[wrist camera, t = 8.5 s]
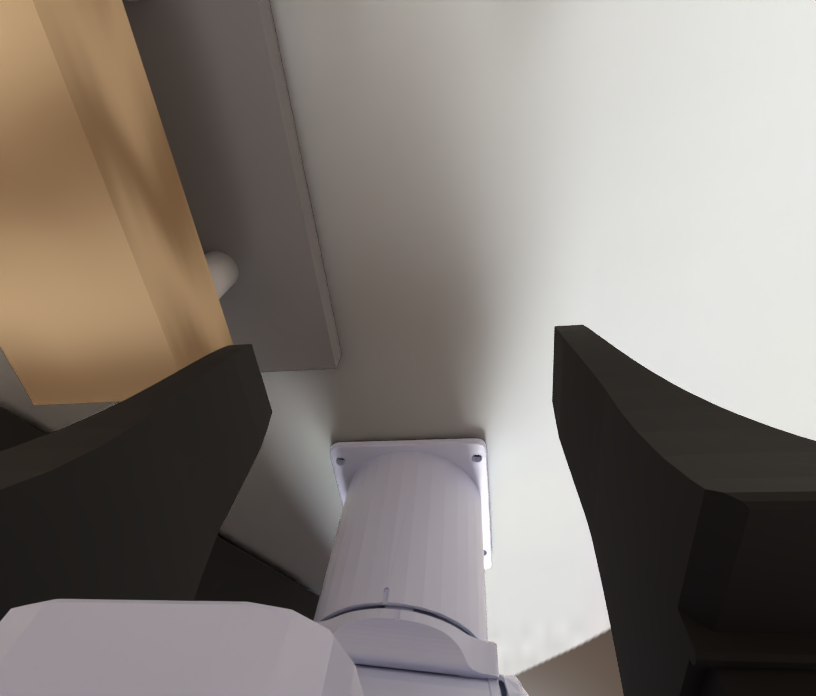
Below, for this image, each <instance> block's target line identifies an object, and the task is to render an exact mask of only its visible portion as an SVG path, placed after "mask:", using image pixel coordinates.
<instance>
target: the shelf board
mask: <svg viewBox="0 0 816 696" xmlns="http://www.w3.org/2000/svg"><path fill="white" fill-rule="evenodd" d="M228 345H233V342H232V339H231V336H230V333H229V329H228V326H227V323H226V320H225V317H224V314H223V311H222V308H221V305H220V302H219V299H218V295H217V292H216V289H215V286H214V283H213V280H212V277H211V274H210V271H209V268H208V265H207V261H206V258H205V255H204V252H203V249H202V246H201V243H200V240H199V237H198V234H197V231H196V227H195V224H194V221H193V218H192V215H191V212H190V209H189V206H188V203H187V200H186V197H185V193H184V190H183V187H182V184H181V181H180V178H179V175H178V172H177V169H176V166H175V163H174V159H173V156H172V153H171V150H170V147H169V144H168V141H167V138H166V135H165V132H164V129H163V125H162V122H161V119H160V116H159V113H158V110H157V107H156V104H155V101H154V98H153V95H152V91H151V88H150V85H149V82H148V79H147V76H146V73H145V70H144V67H143V64H142V60H141V57H140V54H139V51H138V48H137V45H136V42H135V39H134V36H133V33H132V30H131V26H130V23H129V20H128V17H127V14H126V11H125V8H124V5H123V2H122V0H0V347H1V349H2V351H3V353H4V354H5V356H6V358H7V360H8V361H9V363H10V365H11V366H12V368H13V370H14V372H15V373H16V375H17V377H18V378H19V380H20V382H21V384H22V385H23V387H24V389H25V391H26V392H27V394H28V396H29V397H30V399H31V401H32V403H33V404H34V405H55V404H77V403H99V402H121V401H124V400H126V399H128V398H129V397H131V396H133V395H135V394H137V393H139V392H141V391H143V390H145V389H146V388H148V387H150V386H152V385H154V384H156V383H158V382H159V381H161V380H163V379H165V378H167V377H168V376H170V375H172V374H174V373H175V372H177V371H179V370H181V369H182V368H184V367H186V366H188V365H190V364H191V363H193V362H195V361H197V360H199V359H200V358H202V357H204V356H206V355H208V354H210V353H212V352H214V351H216V350H218V349H220V348H223V347H225V346H228Z"/></svg>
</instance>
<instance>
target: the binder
mask: <svg viewBox="0 0 816 696" xmlns="http://www.w3.org/2000/svg"><path fill="white" fill-rule="evenodd" d="M44 435H47V434H45V433H44V432H42V431H40V430H39V429H37V428H35V427H34V426H32V425H30V424H28V423H27V422H25V421H23V420H22V419H20V418H18V417H17V416H15V415H13V414H12V413H10V412H8V411H7V410H5V409H3V408H2V407H0V451H3V450H6V449H9V448H12V447H15V446H17V445H20V444H23V443H26V442H28V441H31V440H34V439H36V438H39V437H42V436H44ZM319 598H320V597H319V596H318V595H316V594H314V593H313V592H311V591H309V590H308V589H306V588H304V587H303V586H301V585H299V584H297V583H296V582H294V581H292V580H291V579H289V578H287V577H286V576H284V575H282V574H281V573H279V572H277V571H276V570H274V569H272V568H271V567H269V566H267V565H266V564H264V563H262V562H260V561H259V560H257V559H255V558H254V557H252V556H250V555H249V554H247V553H245V552H244V551H242V550H240V549H239V548H237V547H235V546H234V545H232V544H230V543H229V542H227V541H225V540H224V539H222V538H220V537H218V536H217V537H216V540H215V542H214V545H213V548H212V550H211V553H210V556H209V558H208V561H207V564H206V566H205V569H204V572H203V574H202V577H201V580H200V583H199V586H198V589H197V592H196V595H195V598H194V601H233V602H252V603H258V604H263V605H269V606H274V607H280V608H285V609H291V610H294V611H296V612H297V613H299V614H301V615H303V616H305V617H307V618H309V619H310V620H312V621H313V620H314V617H315V613H316V609H317V605H318V601H319Z"/></svg>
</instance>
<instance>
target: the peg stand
mask: <svg viewBox="0 0 816 696" xmlns="http://www.w3.org/2000/svg"><path fill="white" fill-rule="evenodd" d="M122 2H123V5H124V8H125V11H126V14H127V17H128V20H129V23H130V26H131V30H132V33H133V36H134V39H135V42H136V45H137V48H138V51H139V54H140V57H141V60H142V64H143V67H144V70H145V73H146V76H147V79H148V82H149V85H150V88H151V91H152V95H153V98H154V101H155V104H156V107H157V110H158V113H159V116H160V119H161V122H162V125H163V129H164V132H165V135H166V138H167V141H168V144H169V147H170V150H171V153H172V156H173V159H174V163H175V166H176V169H177V172H178V175H179V178H180V181H181V184H182V187H183V190H184V193H185V197H186V200H187V203H188V206H189V209H190V212H191V215H192V218H193V221H194V224H195V227H196V231H197V234H198V237H199V240H200V243H201V246H202V249H203V252H204V255H205V258H206V261H207V265H208V268H209V271H210V274H211V277H212V280H213V283H214V286H215V289H216V292H217V295H218V299H219V302H220V305H221V308H222V311H223V314H224V317H225V320H226V323H227V326H228V329H229V333H230V336H231V339H232V342H233V345H242V344H252V346H253V350H254V353H255V356H256V360H257V363H258V366H259V370H260V372H277V371H297V370H317V369H336V368H337V365H338V363H339V360H340V358H341V350H340V345H339V340H338V335H337V330H336V325H335V320H334V315H333V311H332V306H331V301H330V296H329V291H328V286H327V281H326V276H325V271H324V266H323V262H322V257H321V252H320V247H319V242H318V237H317V232H316V227H315V222H314V217H313V213H312V208H311V203H310V198H309V193H308V188H307V183H306V178H305V173H304V168H303V164H302V159H301V154H300V149H299V144H298V139H297V134H296V129H295V124H294V119H293V115H292V110H291V105H290V100H289V95H288V90H287V85H286V80H285V75H284V70H283V66H282V61H281V56H280V51H279V46H278V41H277V36H276V31H275V26H274V21H273V17H272V12H271V7H270V2H269V0H122Z"/></svg>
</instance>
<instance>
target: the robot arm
mask: <svg viewBox="0 0 816 696" xmlns="http://www.w3.org/2000/svg"><path fill="white" fill-rule="evenodd" d="M552 402H553V408H554V413H555V419H556V424H557V429H558V434H559V439H560V442H561V445H562V448H563V451H564V454H565V457H566V460H567V463H568V466H569V469H570V472H571V475H572V478H573V481H574V484H575V486H576V489H577V492H578V495H579V498H580V501H581V504H582V507H583V510H584V513H585V516H586V519H587V522H588V526H589V529H590V533H591V536H592V541H593V545H594V550H595V554H596V559H597V563H598V568H599V572H600V577H601V581H602V586H603V591H604V596H605V601H606V606H607V611H608V615H609V620H610V625H611V630H612V635H613V640H614V646H615V651H616V656H617V661H618V666H619V672H620V677H621V682H622V688H623V693H624V696H816V441H814V440H810V439H807V438H804V437H800V436H797V435H794V434H791V433H788V432H785V431H782V430H779V429H776V428H773V427H770V426H767V425H765V424H762V423H759V422H757V421H754V420H751V419H749V418H746V417H744V416H741V415H738V414H736V413H733V412H731V411H728V410H726V409H724V408H721V407H719V406H717V405H715V404H712V403H710V402H708V401H706V400H704V399H702V398H700V397H698V396H696V395H693V394H691V393H689V392H687V391H685V390H683V389H681V388H680V387H678V386H676V385H674V384H672V383H670V382H669V381H667V380H665V379H664V378H662V377H660V376H658V375H657V374H655V373H653V372H652V371H650V370H648V369H647V368H645V367H644V366H642V365H640V364H639V363H637V362H636V361H634V360H633V359H631V358H630V357H628V356H627V355H625V354H624V353H622V352H621V351H620V350H618V349H617V348H615V347H614V346H612V345H611V344H610V343H608V342H607V341H606V340H604V339H603V338H601V337H600V336H599V335H597V334H596V333H594V332H593V331H592V330H590V329H589V328H587V327H586V326H584V325H571V326H555V332H554V364H553V396H552ZM271 414H272V410H271V406H270V403H269V400H268V396H267V393H266V390H265V386H264V383H263V380H262V376H261V373H260V370H259V366H258V363H257V360H256V356H255V353H254V350H253V346H252V344H242V345H228V346H225V347H223V348H220V349H218V350H216V351H214V352H212V353H210V354H208V355H206V356H204V357H202V358H200V359H199V360H197V361H195V362H193V363H191V364H190V365H188V366H186V367H184V368H182V369H181V370H179V371H177V372H175V373H174V374H172V375H170V376H168V377H167V378H165V379H163V380H161V381H159V382H158V383H156V384H154V385H152V386H150V387H148V388H146V389H145V390H143V391H141V392H139V393H137V394H135V395H133V396H131V397H129V398H128V399H126V400H124V401H122V402H120V403H118V404H116V405H114V406H112V407H110V408H108V409H106V410H104V411H102V412H99V413H97V414H95V415H93V416H91V417H88V418H86V419H84V420H82V421H79V422H77V423H75V424H72V425H70V426H68V427H65V428H63V429H60V430H58V431H55V432H52V433H50V434H47V435H44V436H42V437H39V438H36V439H34V440H31V441H28V442H26V443H23V444H20V445H17V446H15V447H12V448H9V449H6V450H3V451H0V696H529V695H528V694H527V692H526V691H525V690H524V689H523V687H522V685H521V683H520V681H519V680H518V679H517V678H516V677H515V676H511V675H499V673H498V657H497V644H496V643H494V642H490V641H488V634H487V613H486V591H485V569H488V568H490V567H491V566H492V553H491V532H490V512H489V491H488V471H487V450H486V443H485V442H484V441H483V440H481V439H477V438H468V439H434V440H400V441H366V442H338V443H335V444H333V445H332V447H331V449H330V456H331V460H332V464H333V468H334V473H335V477H336V481H337V485H338V489H339V493H340V497H341V501H342V505H343V511H342V515H341V519H340V522H339V526H338V530H337V534H336V537H335V541H334V545H333V549H332V552H331V556H330V560H329V564H328V568H327V571H326V575H325V579H324V583H323V586H322V590H321V594H320V598H319V601H318V605H317V609H316V613H315V617H314V620H313V621H312V620H310V619H309V618H307V617H305V616H303V615H301V614H299V613H297V612H296V611H294V610H291V609H285V608H280V607H274V606H269V605H263V604H258V603H252V602H233V601H194V598H195V595H196V592H197V589H198V586H199V583H200V580H201V577H202V574H203V572H204V569H205V566H206V564H207V561H208V558H209V556H210V553H211V550H212V548H213V545H214V542H215V540H216V537H217V535H218V533H219V531H220V528H221V526H222V524H223V522H224V520H225V518H226V516H227V514H228V512H229V510H230V508H231V506H232V504H233V502H234V500H235V498H236V496H237V494H238V492H239V490H240V488H241V486H242V484H243V482H244V480H245V478H246V476H247V474H248V472H249V470H250V468H251V466H252V464H253V462H254V460H255V458H256V456H257V454H258V452H259V450H260V448H261V446H262V443H263V440H264V437H265V434H266V431H267V428H268V424H269V421H270V418H271ZM476 454H478V455H480V457H474V456H473V455H476ZM339 458H343V459H345V460H340V459H339Z"/></svg>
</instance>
